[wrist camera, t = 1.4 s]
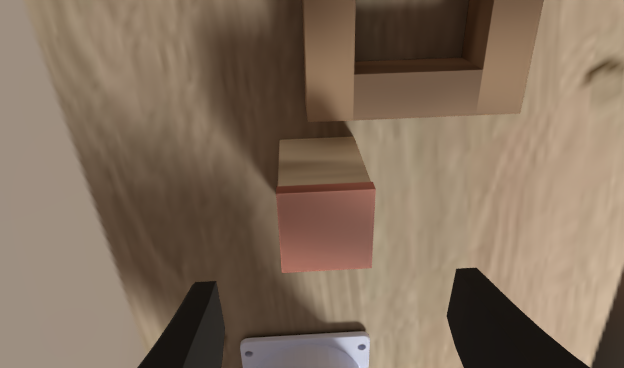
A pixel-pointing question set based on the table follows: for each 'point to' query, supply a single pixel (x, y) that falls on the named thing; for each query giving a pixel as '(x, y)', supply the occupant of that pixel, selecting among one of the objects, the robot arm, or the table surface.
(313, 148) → the pink-ended wooden beam
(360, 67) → the wooden square frame
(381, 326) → the table surface
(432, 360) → the table surface
